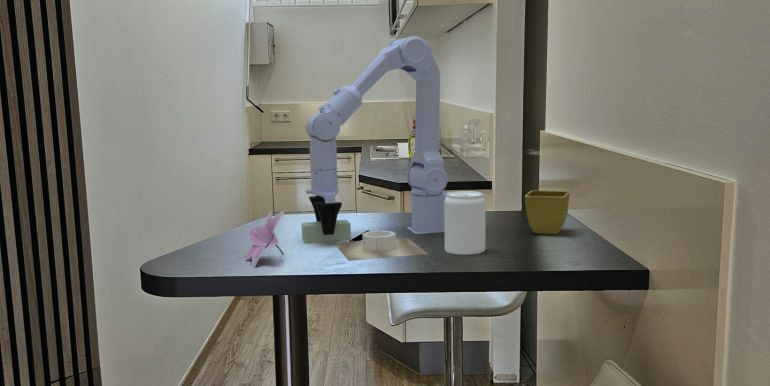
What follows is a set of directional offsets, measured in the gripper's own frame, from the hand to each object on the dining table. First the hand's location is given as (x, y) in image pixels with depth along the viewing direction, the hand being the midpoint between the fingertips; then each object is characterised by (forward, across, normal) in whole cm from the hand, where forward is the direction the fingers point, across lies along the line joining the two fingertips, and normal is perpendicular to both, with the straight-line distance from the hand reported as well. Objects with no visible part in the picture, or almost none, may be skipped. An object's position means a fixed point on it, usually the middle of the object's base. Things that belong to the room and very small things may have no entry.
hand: (325, 231), depth 153 cm
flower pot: (+2, +7, +49) cm, 50 cm away
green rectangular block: (+3, 0, 0) cm, 3 cm away
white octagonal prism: (+2, +12, +9) cm, 15 cm away
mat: (+2, +12, +9) cm, 15 cm away
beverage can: (+3, +19, +25) cm, 32 cm away
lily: (+3, +12, -14) cm, 19 cm away
